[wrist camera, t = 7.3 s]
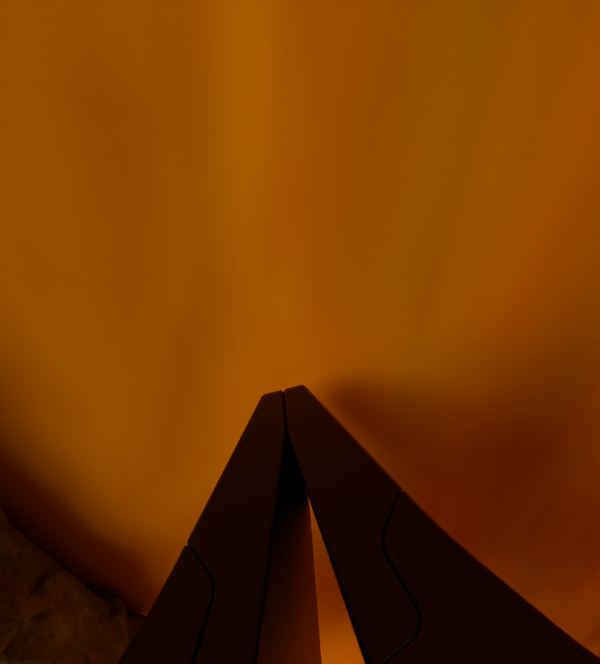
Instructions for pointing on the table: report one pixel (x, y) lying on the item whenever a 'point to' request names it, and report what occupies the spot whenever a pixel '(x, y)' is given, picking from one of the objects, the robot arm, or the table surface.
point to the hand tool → (55, 610)
